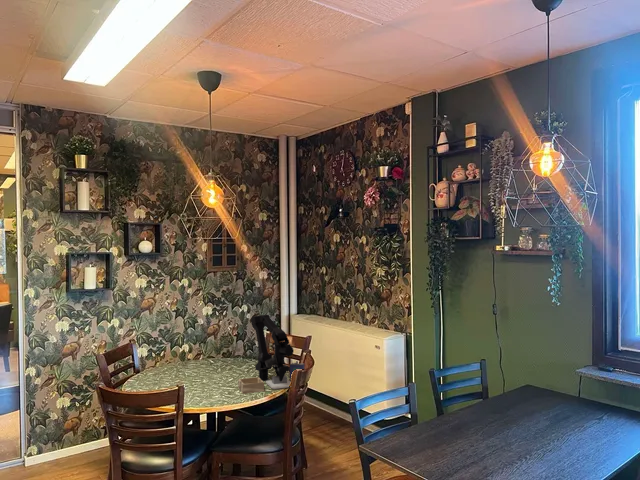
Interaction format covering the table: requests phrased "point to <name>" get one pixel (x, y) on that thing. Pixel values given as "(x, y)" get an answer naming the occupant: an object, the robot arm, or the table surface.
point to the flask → (295, 367)
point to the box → (250, 385)
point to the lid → (278, 382)
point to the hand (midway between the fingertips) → (279, 380)
